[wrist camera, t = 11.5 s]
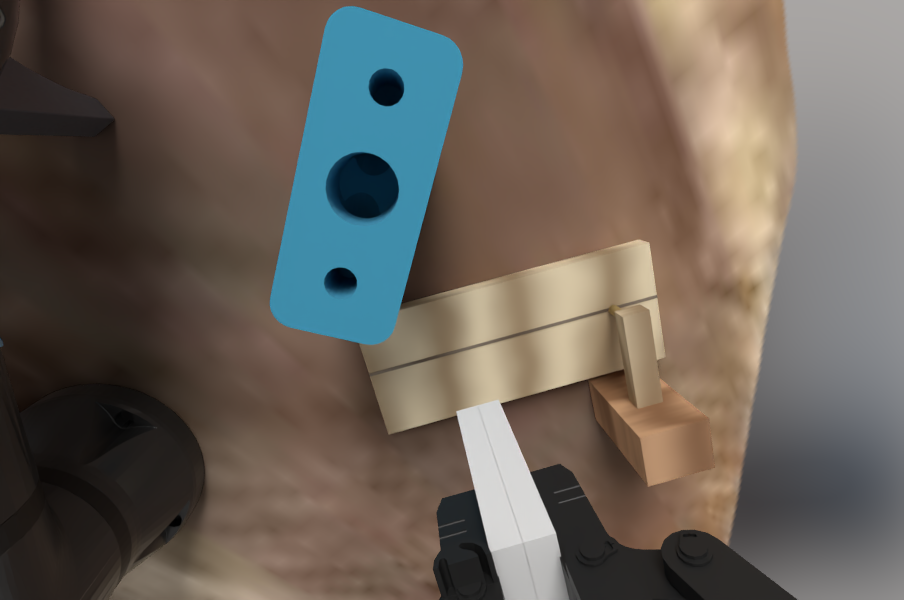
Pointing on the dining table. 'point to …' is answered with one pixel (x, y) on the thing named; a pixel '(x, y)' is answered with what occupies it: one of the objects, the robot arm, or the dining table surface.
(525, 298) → the board
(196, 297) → the dining table surface
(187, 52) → the dining table surface
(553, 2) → the dining table surface
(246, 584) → the dining table surface
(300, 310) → the block
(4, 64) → the planter
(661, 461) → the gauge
